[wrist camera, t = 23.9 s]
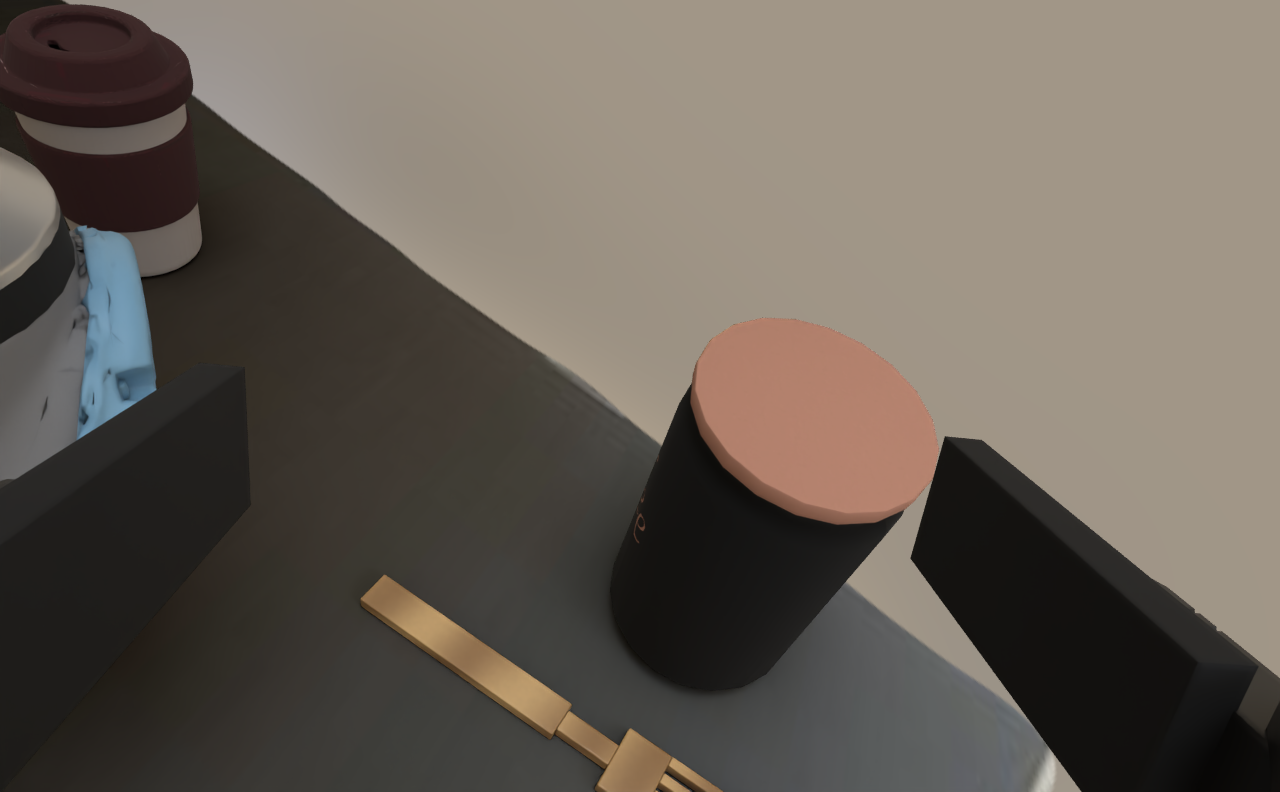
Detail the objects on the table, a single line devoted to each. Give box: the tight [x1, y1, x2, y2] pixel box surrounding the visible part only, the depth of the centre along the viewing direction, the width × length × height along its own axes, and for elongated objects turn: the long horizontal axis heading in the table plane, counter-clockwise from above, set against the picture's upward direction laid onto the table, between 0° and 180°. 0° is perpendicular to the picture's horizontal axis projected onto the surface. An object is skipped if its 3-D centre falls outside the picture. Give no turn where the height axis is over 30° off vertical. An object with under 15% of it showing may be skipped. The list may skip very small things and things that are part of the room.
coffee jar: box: [610, 318, 939, 691], centre depth 38 cm, size 11×11×18 cm
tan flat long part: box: [360, 575, 723, 792], centre depth 38 cm, size 22×3×1 cm, turn 60°
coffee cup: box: [0, 5, 202, 277], centre depth 48 cm, size 10×10×15 cm
